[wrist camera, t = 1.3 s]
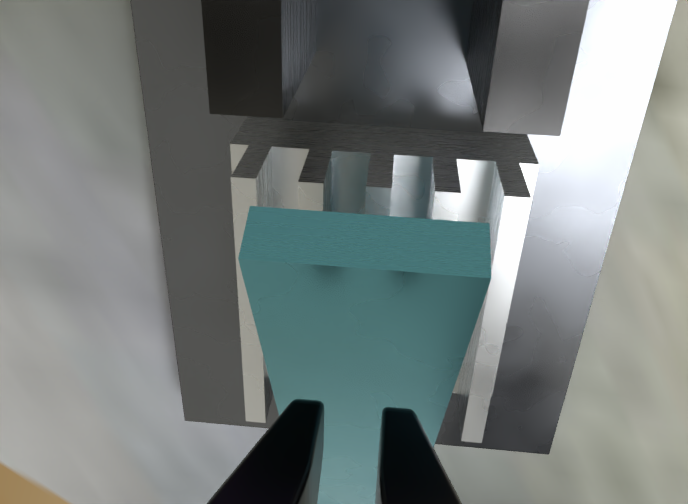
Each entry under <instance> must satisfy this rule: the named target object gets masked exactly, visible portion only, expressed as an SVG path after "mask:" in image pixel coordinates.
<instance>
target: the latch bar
mask: <svg viewBox="0 0 688 504" xmlns="http://www.w3.org/2000/svg"><path fill="white" fill-rule="evenodd" d="M238 260H239V264H240V268H241V272H242V276H243V280H244V283H245V287H246V291H247V295H248V299H249V303H250V306H251V310H252V314H253V318H254V322H255V326H256V329H257V333H258V337H259V341H260V345H261V348H262V352H263V356H264V360H265V364H266V368H267V371H268V375H269V379H270V383H271V387H272V391H273V394H274V398H275V402H276V406H277V410H278V414H279V416H280V415H281V413H282V412H283V411H284V410H285V409H286V407H287V406H288V405H289V404H290V403H291V402H292V401H293V400H295V399H306V400H318V401H321V402H322V403H323V404H324V447H323V459H322V468H321V476H320V484H319V493H318V501H317V504H375V497H376V481H377V466H378V452H379V441H380V429H381V417H382V410H383V409H384V408H385V407H396V408H407V409H411V410H413V411H414V412H415V413H416V415H417V417H418V419H419V421H420V423H421V425H422V427H423V429H424V431H425V433H426V435H427V437H428V438H429V440H430V442H431V444H432V446H433V447H434V445H435V442H436V439H437V436H438V433H439V430H440V427H441V424H442V421H443V418H444V415H445V412H446V410H447V407H448V404H449V401H450V398H451V395H452V392H453V389H454V386H455V383H456V380H457V377H458V374H459V372H460V369H461V366H462V363H463V360H464V357H465V354H466V351H467V348H468V345H469V342H470V339H471V337H472V334H473V331H474V328H475V325H476V322H477V319H478V316H479V313H480V310H481V307H482V304H483V302H484V299H485V296H486V293H487V290H488V287H489V284H490V281H491V250H490V223H479V222H465V221H451V220H438V219H424V218H410V217H396V216H382V215H368V214H355V213H341V212H327V211H313V210H299V209H285V208H272V207H258V206H250V208H249V212H248V216H247V221H246V225H245V230H244V234H243V239H242V243H241V248H240V252H239V257H238Z"/></svg>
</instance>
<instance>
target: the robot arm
mask: <svg viewBox="0 0 688 504" xmlns="http://www.w3.org/2000/svg"><path fill="white" fill-rule="evenodd" d="M323 447H324V404H323V403H322V402H321V401H318V400H306V399H295V400H293V401H292V402H291V403H290V404H289V405H288V406H287V407H286V409H285V410H284V411H283V412H282V413H281V415H280V416H279V417H278V418H277V419H276V421H275V422H274V423H273V424H272V425H271V427H270V428H269V429H268V430H267V431H266V433H265V434H264V435H263V436H262V438H261V439H260V440H259V441H258V442H257V444H256V445H255V446H254V447H253V448H252V450H251V451H250V452H249V453H248V454H247V456H246V457H245V458H244V459H243V460H242V462H241V463H240V464H239V465H238V466H237V468H236V469H235V470H234V471H233V473H232V474H231V475H230V476H229V477H228V479H227V480H226V481H225V482H224V483H223V485H222V486H221V487H220V488H219V489H218V491H217V492H216V493H215V494H214V495H213V497H212V498H211V499H210V500H209V501H208V503H207V504H317V501H318V493H319V484H320V476H321V468H322V459H323ZM375 504H462V503H461V501H460V499H459V497H458V495H457V493H456V491H455V489H454V487H453V485H452V483H451V482H450V480H449V478H448V476H447V474H446V472H445V470H444V468H443V466H442V464H441V462H440V460H439V458H438V456H437V454H436V452H435V450H434V448H433V446H432V444H431V442H430V440H429V438H428V437H427V435H426V433H425V431H424V429H423V427H422V425H421V423H420V421H419V419H418V417H417V415H416V413H415V412H414V411H413V410H411V409H407V408H396V407H385V408H384V409H383V410H382V417H381V429H380V441H379V452H378V466H377V481H376V497H375Z"/></svg>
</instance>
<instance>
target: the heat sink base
mask: <svg viewBox="0 0 688 504" xmlns="http://www.w3.org/2000/svg"><path fill="white" fill-rule="evenodd" d="M676 3H677V0H131V8H132V16H133V23H134V31H135V39H136V46H137V54H138V62H139V70H140V77H141V85H142V93H143V100H144V108H145V116H146V124H147V131H148V139H149V147H150V155H151V162H152V170H153V178H154V185H155V193H156V201H157V209H158V216H159V224H160V232H161V240H162V247H163V255H164V263H165V270H166V278H167V286H168V294H169V301H170V309H171V317H172V324H173V332H174V340H175V348H176V355H177V363H178V371H179V379H180V386H181V394H182V402H183V409H184V417H185V421H195V422H206V423H217V424H228V425H238V426H249V427H260V428H270V427H271V425H272V424H273V423H274V422H275V421H276V419H277V418H278V417H279V414H278V410H277V406H276V402H275V398H274V394H273V391H272V387H271V383H270V379H269V375H268V371H267V368H266V364H265V360H264V356H263V352H262V348H261V345H260V341H259V337H258V333H257V329H256V326H255V322H254V318H253V314H252V310H251V306H250V303H249V299H248V295H247V291H246V287H245V283H244V280H243V276H242V272H241V268H240V264H239V260H238V257H239V252H240V248H241V243H242V239H243V234H244V230H245V225H246V221H247V216H248V212H249V208H250V206H258V207H272V208H285V209H299V210H313V211H327V212H341V213H355V214H368V215H382V216H396V217H410V218H424V219H438V220H451V221H465V222H479V223H490V250H491V281H490V284H489V287H488V290H487V293H486V296H485V299H484V302H483V304H482V307H481V310H480V313H479V316H478V319H477V322H476V325H475V328H474V331H473V334H472V337H471V339H470V342H469V345H468V348H467V351H466V354H465V357H464V360H463V363H462V366H461V369H460V372H459V374H458V377H457V380H456V383H455V386H454V389H453V392H452V395H451V398H450V401H449V404H448V407H447V410H446V412H445V415H444V418H443V421H442V424H441V427H440V430H439V433H438V436H437V439H436V442H435V444H443V445H453V446H464V447H475V448H486V449H496V450H507V451H518V452H529V453H539V454H549V452H550V448H551V445H552V441H553V438H554V434H555V431H556V427H557V424H558V420H559V416H560V413H561V409H562V406H563V402H564V399H565V395H566V392H567V388H568V385H569V381H570V378H571V374H572V371H573V367H574V363H575V360H576V356H577V353H578V349H579V346H580V342H581V339H582V335H583V332H584V328H585V325H586V321H587V318H588V314H589V310H590V307H591V303H592V300H593V296H594V293H595V289H596V286H597V282H598V279H599V275H600V272H601V268H602V264H603V261H604V257H605V254H606V250H607V247H608V243H609V240H610V236H611V233H612V229H613V226H614V222H615V219H616V215H617V211H618V208H619V204H620V201H621V197H622V194H623V190H624V187H625V183H626V180H627V176H628V173H629V169H630V165H631V162H632V158H633V155H634V151H635V148H636V144H637V141H638V137H639V134H640V130H641V127H642V123H643V120H644V116H645V112H646V109H647V105H648V102H649V98H650V95H651V91H652V88H653V84H654V81H655V77H656V74H657V70H658V66H659V63H660V59H661V56H662V52H663V49H664V45H665V42H666V38H667V35H668V31H669V28H670V24H671V21H672V17H673V13H674V10H675V6H676Z"/></svg>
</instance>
